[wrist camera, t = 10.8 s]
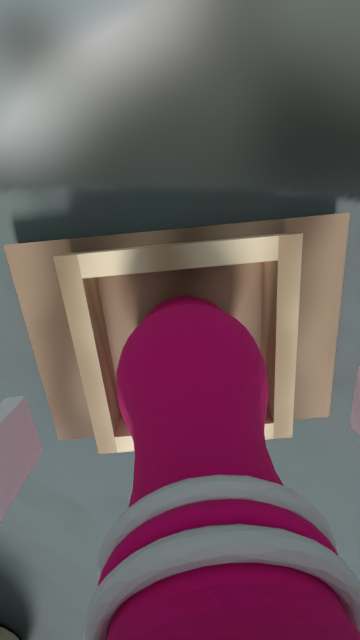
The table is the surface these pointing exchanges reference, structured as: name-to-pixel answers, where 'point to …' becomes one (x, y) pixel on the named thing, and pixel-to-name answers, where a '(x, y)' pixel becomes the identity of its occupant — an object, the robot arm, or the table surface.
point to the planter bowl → (7, 634)
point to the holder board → (174, 281)
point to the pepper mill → (211, 501)
